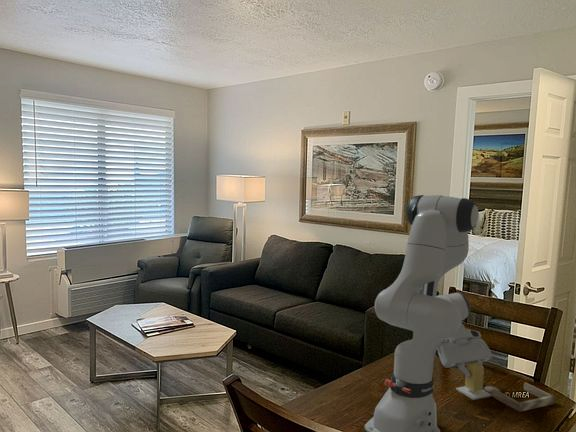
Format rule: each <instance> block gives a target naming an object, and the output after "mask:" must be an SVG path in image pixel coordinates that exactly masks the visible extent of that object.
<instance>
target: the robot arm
mask: <svg viewBox="0 0 576 432" xmlns="http://www.w3.org/2000/svg"><path fill="white" fill-rule="evenodd" d="M405 216H406V220H407V221H408V223H409V225H411V227H410V229H409V235H408V240H407V243H406V251H405V254H404V260H403V264H402V267H401V271H400V273H399V274H398V276H397V278H396V279H395V280H394V282H393V283H392V284H391V285H389V286H388V287H387V288H385V289H382V291H380V292H379V293H378V294H377V296H376V298H375V300H374V312H375V315H376V316H377V318H378V319H379V320H380V321H382V322H385V323H387V324H389V325H390V326H392V327H393V326H394V327H397V328H401V329H405V330H408V331H412V332H413V333H412V339H408V340H405V341H402V342H400V343H399V344H398V345H397V346H396V347H395V350H394V357H393V358H394V361H393V372H392V375H391V377H390V379H389V378H386V379H385V381H384V386H386V387H389V388H388V389H387V391H386V392H385V393H384V394H383V396H382V398H381V399H380V401H379V402H378V404H377V405H376V406H375V408H374V413H373V417H371V418H370V419H369V420H368V421H367V422H366V423H365V424H364V430H365V431H366V432H441V430H440V428H439V427H438V421H437V418H438V416H437V403H436V401H435V399H434V395H433V392H434V387H435V382H434V378H433V372H434V371H433V369H434V363H435V355H436V354H435V352H436V350H437V351H438V354H439V357H440V358H439V357H438V358H439V360H440V362H441V364H442V367H444V368H453V367H455V366H457V368H458V369H459V371H461V372H462V373H463V375H465V376H466V377H467V378H468V377H471V376H472V373H471V371H468V370H467V369H466V364H469V363H477V364H479V365H481V366H483V364H484V363H483V362H487V361H489V360H490V359H492V358H493V354H492V352H491V349H490V348H489V346H488V345H487V343H486V341H485V340H484V339H483V338H481V337H482V334H481V333H480V331H477V330H473V329H470V328H466V327H465V325H464V324H463V323H462V322H463V320H466V319H467V318H468V317H469V316H470V314H471V310H472V306H471V304H470V301H469V299H468V298H467V297H466V296H465V295H464V294H462V293H460V292H452V293H449V294H438V295H437V293H438V285H439V282H440V279H442V277H443V276H444V275H446V274H447V273H448V272H450V271H452V270H453V269H455V268H456V267H459V265H461V264H463V262H464V261H465V260H466V259H467V258H468V254H469V247H470V245H469V243H470V242H469V232H471V231H472V230H473V229H475V228H476V226H477V224H478V221H479V217H480V216H479V208H478V205H477V203H476V202H475V201H474V200H473V199H470V198H465V197H462V198H459V197H455V196H444V195H440V194H439V195H434V194H433V195H423V194H421V195H419V194H418V195H415V196H413V197H411V198H410V199H409V200H408V201H407V204H406V212H405ZM483 367H484V366H483Z"/></svg>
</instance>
